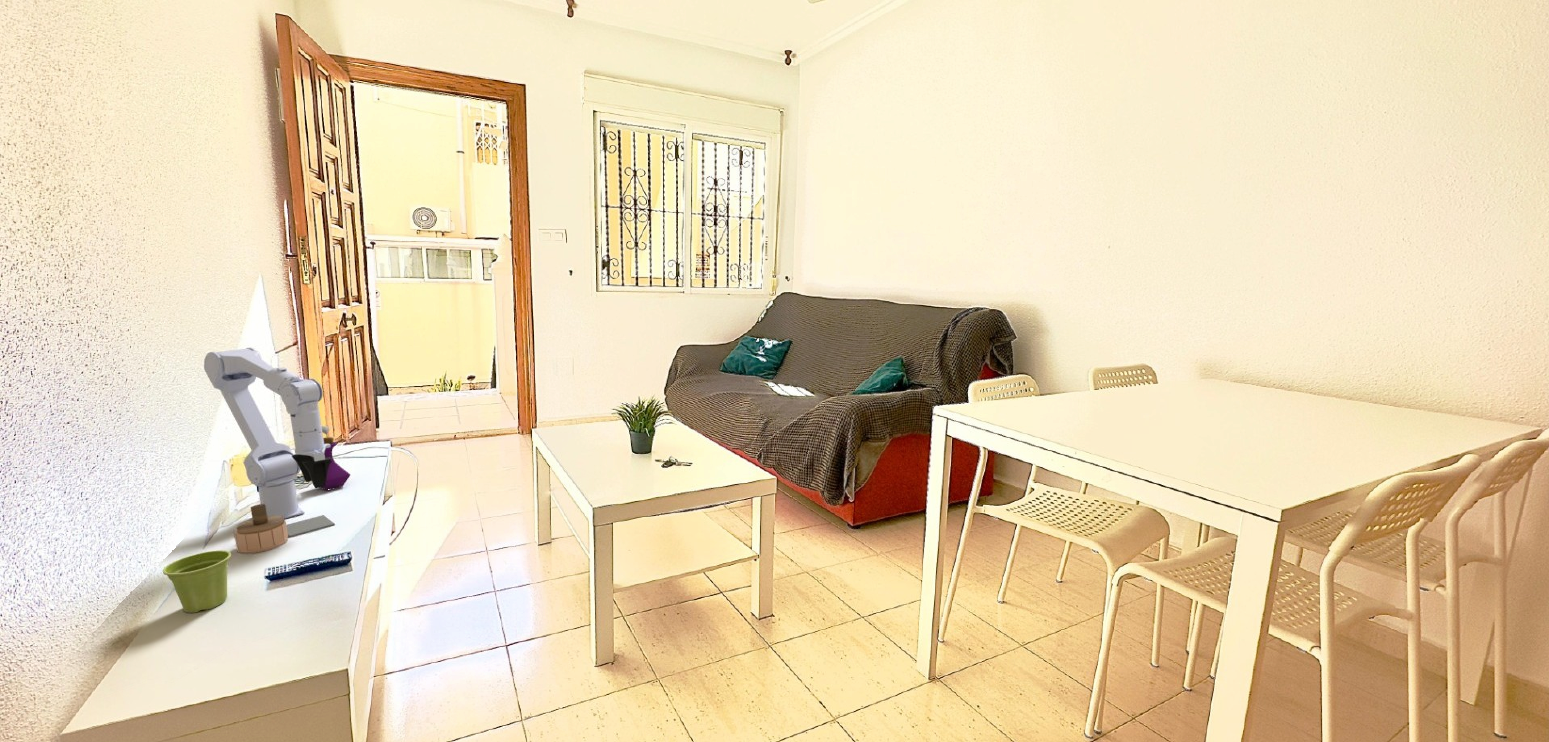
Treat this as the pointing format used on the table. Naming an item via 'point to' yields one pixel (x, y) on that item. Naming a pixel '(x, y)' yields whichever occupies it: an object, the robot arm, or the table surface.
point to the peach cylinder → (261, 540)
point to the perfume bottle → (333, 465)
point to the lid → (260, 521)
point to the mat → (308, 525)
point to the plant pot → (200, 579)
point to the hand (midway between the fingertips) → (315, 483)
